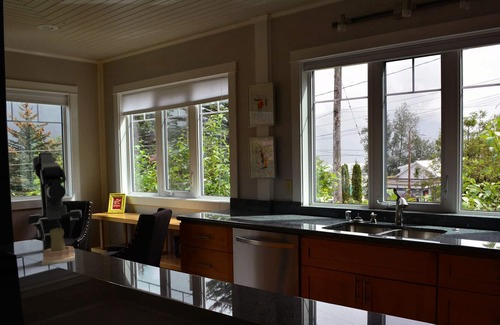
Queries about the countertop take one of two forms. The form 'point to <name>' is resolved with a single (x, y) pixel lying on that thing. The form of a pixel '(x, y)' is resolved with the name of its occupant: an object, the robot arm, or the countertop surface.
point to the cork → (57, 239)
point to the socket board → (58, 256)
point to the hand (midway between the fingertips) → (57, 238)
